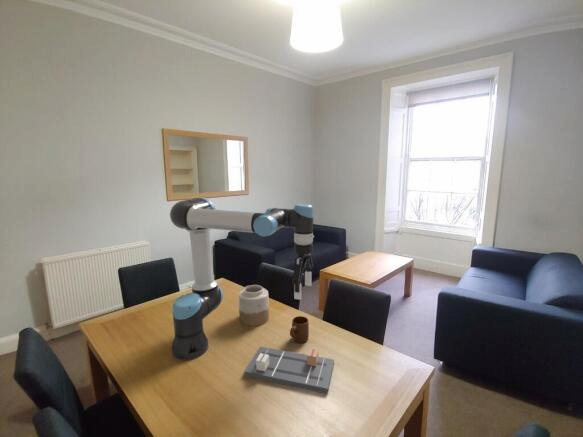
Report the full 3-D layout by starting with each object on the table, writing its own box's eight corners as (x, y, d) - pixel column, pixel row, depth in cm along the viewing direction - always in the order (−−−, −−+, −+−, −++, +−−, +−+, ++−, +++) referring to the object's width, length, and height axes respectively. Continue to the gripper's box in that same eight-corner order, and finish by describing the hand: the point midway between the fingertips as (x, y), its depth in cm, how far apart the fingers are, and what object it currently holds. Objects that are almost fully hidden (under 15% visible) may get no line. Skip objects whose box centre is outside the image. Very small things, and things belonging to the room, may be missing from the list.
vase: (274, 316, 155) (274, 286, 152) (256, 329, 142) (255, 298, 139) (252, 308, 163) (251, 280, 160) (233, 321, 151) (231, 290, 147)
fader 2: (307, 364, 114) (307, 355, 114) (309, 357, 118) (309, 348, 118) (316, 366, 113) (316, 356, 113) (318, 359, 118) (318, 349, 117)
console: (244, 376, 112) (244, 371, 111) (260, 350, 127) (260, 346, 126) (327, 393, 103) (327, 388, 102) (334, 364, 118) (334, 359, 118)
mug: (298, 351, 126) (298, 331, 125) (283, 345, 130) (283, 326, 128) (311, 337, 136) (311, 318, 134) (297, 332, 140) (297, 314, 138)
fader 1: (256, 369, 112) (256, 359, 111) (260, 362, 116) (260, 352, 115) (265, 371, 111) (264, 361, 110) (269, 363, 115) (269, 354, 114)
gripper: (302, 252, 105) (302, 307, 109) (320, 236, 128) (319, 281, 132) (283, 250, 108) (283, 303, 112) (304, 234, 131) (303, 279, 135)
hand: (303, 292), depth 122 cm, fingers open, 13 cm apart
